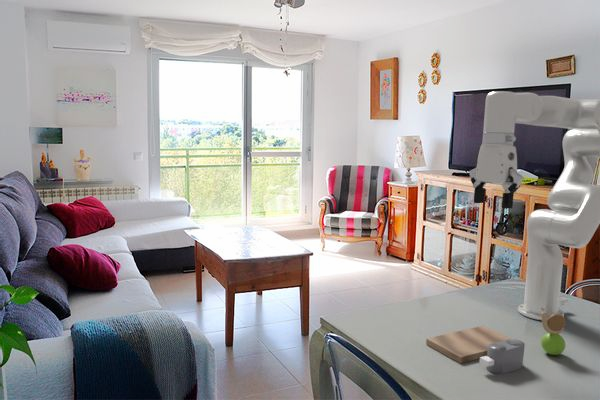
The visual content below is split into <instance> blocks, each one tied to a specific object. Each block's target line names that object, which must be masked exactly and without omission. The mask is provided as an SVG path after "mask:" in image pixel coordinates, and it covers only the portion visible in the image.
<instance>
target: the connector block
mask: <svg viewBox="0 0 600 400" xmlns="http://www.w3.org/2000/svg"><path fill="white" fill-rule="evenodd" d="M524 354H525V342H524V341H521V340H520V339H515V338H511V339H508V340H504V341H500V342H496V343H492V344H489V345H488V352H487V356H483V357H480V358H479V363H480V364H482V365H484V366H486V367H485V368H486V371H487V372H490V373H491V374H496V375H502V374H505V373H508V372H509V373H510V372H512V371H515V370H519V369H523V366H524V356H525V355H524Z"/></svg>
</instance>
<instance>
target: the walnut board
mask: <svg viewBox="0 0 600 400" xmlns="http://www.w3.org/2000/svg"><path fill="white" fill-rule="evenodd" d="M508 339H512V338H511V337H509V336H507V335H505V334H502V333H500V332H498V331H496V330H493V329H492V328H489V327H487V326H484V325H481V326H475V327H471V328H468V329H462V330H458V331H453V332H450V333H445V334H441V335H436V336H432V337H427V338H426V340H425V341H426V342H425V344H426V345H427V346H429V347H430V348H432V349H434V350H435V351H438V352H440V353H441V354H442V355H445V356H446V357H449V358H450V359H451V360H453V361H455V362H457V363H459V364H463V363H467V362H471V361H474V360H478V359H479V360H480V357H483V356H487V352H488V345H489V344H492V343H496V342H500V341H504V340H508Z"/></svg>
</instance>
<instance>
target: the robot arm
mask: <svg viewBox="0 0 600 400" xmlns="http://www.w3.org/2000/svg"><path fill="white" fill-rule="evenodd" d="M483 116H484V118H483V133H482V142H481V145H480V148H479V152H478V156H477V161H476V163H477V164H476V167H475V168H473V169H471V170H469V172H468V173H469V177H470V182H471V184H472V188H473V189H474V192H473V203H474V204H483V203H485V197H486V196H485V194H486V192H485V191H486V188H485V186H486V184H492V185H498V186H499V185H501V186H502V189H503V191H504V192H502V199H501V208H502V209H513V205H514V194H516V192H517V191H518V189H520V188H521V184H522V183H523V181H524V176H523V175H522V174H520V173H519V172H518V155H517V147H516V146H514V142H516V140H517V137H516V136H515V127H516V124H520V125H521V124H522V125H529V126H537V127H547V128H548V127H550V128H551V127H552V128H561V129H567V130H568V129H569V130H568V131H566V133H564V136H563V137H562V151H563V157H564V158H563V159H564V168H563V170H562V172H561V174H560V175H559V177H558V178H557V181H556V182H555V184H554V185H553V187H552V189H551V190H550V193H549V194H548V196H547V206H548V207H549V208H550V209H547V208H541V209H539V208H538V209H535V210H534V211H532V212H531V213H530V214H529V215H528V217H527V219H526V234H527V244H528V245H527V261H526V274H525V284H524V285H525V286H524V287H525V288H524V298H523V303H521V304H519V305H518V306H517V311H518V313H520V315H522V316H524V317H527V318H530V319H533V320H537V321H542V317H541V313H542V312H546V313H547V319H548V318H549V317H550V316H551V315H553V314H560V315H562V316H563V317H564V318H565V313H564V311H563V310H562V309H561V307H562V306H565V305H566V306H567V305H568V304H569V301H568V299H567V298H561V297H560V296H561V288H562V276H563V268H564V267H563V266H564V256H563V255H564V254H563V253H562V250H561V248H560V246H564V247H566V248H567V247H568V248H571V249H582V248H584V247H586V246H587V245H588V244H589V242H590V241H591V239H592V238H593V236H594V234H595V232H596V231H597V229H598V228H599V226H600V185H597V184H592V182H593V180H594V177H595V174H594V169H593V167H592V166H591V164H590V163H589V161H588V159H587V157H590V158H591V157H593V158H594V157H595V158H600V98H587V99H585V98H584V99H582V98H581V99H579V98H578V99H576V98H569V97H562V96H557V95H539V94H537V93H534V92H513V91H506V90H505V91H502V90H501V91H497V90H496V91H490V92H489V93H488V94H487V95H486V98H485V105H484V115H483ZM541 307H543V308H544V309H545V310H544V311H543V310H542V309H541Z"/></svg>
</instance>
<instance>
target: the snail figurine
mask: <svg viewBox="0 0 600 400" xmlns="http://www.w3.org/2000/svg"><path fill="white" fill-rule="evenodd" d="M541 309H542V310H543V311H544V310H545V309H544V308H543V307H541ZM541 317H542V320H541V323H542V327H543V329H544V331H545V332H546V333H545V334H544V335H543V336H542V337H541V340H540V345H541V348H542V349H543V351H544V352H545V353H546V354H549V355H551V356H558V355H560V354H562V353H564V351H565V350H566V341H565V339H564V337H563V336H562V335H561V333H563V332H564V331H565V326H566V319H565V318H566V317H565V316H564V317H563V316H562V315H560V314H553V315H551V316H550V317H549V318H548V319H547V313H546V312H542V313H541Z"/></svg>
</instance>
